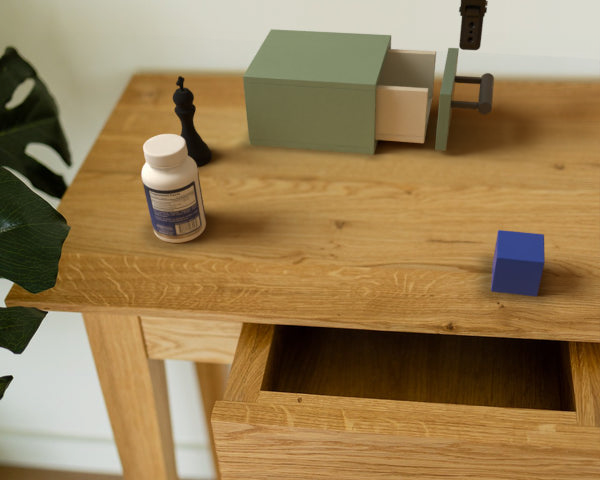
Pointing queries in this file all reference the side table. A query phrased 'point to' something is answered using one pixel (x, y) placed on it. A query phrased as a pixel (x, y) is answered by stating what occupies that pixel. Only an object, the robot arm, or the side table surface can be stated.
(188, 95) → the chess piece
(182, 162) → the pill bottle
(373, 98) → the green drawer cabinet
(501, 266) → the blue rectangular box
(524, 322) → the side table surface
